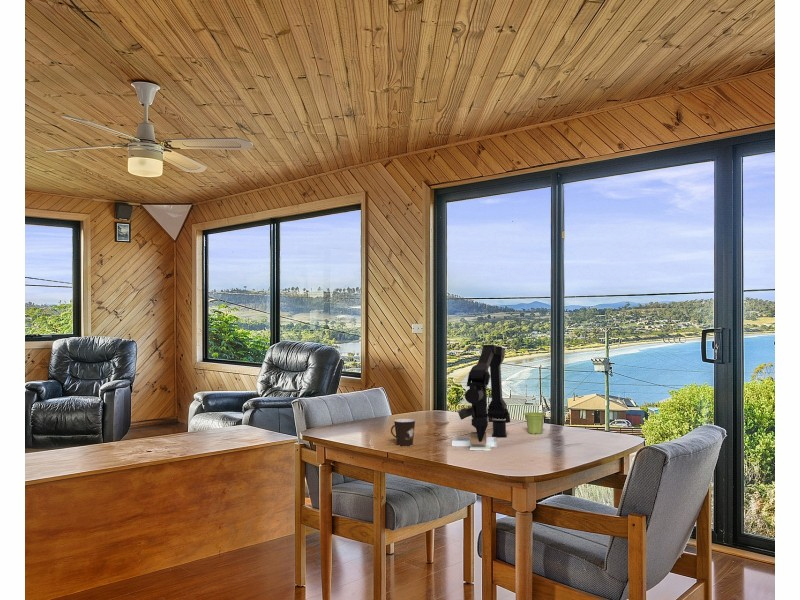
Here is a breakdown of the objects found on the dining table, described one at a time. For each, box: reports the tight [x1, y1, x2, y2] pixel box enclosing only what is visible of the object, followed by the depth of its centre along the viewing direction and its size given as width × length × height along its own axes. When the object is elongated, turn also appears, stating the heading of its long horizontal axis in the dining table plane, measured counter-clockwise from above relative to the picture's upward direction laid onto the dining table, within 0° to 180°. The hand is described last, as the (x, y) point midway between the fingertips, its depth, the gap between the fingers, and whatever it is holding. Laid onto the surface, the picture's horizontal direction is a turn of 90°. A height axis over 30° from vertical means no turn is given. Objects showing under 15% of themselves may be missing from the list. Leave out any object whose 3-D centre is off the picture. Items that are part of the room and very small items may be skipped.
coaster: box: [469, 445, 492, 452], centre depth 243 cm, size 8×8×1 cm
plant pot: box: [523, 411, 546, 435], centre depth 277 cm, size 9×9×9 cm
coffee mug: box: [390, 418, 416, 447], centre depth 252 cm, size 12×9×10 cm
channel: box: [451, 436, 498, 448], centre depth 253 cm, size 10×18×2 cm, turn 82°
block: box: [469, 431, 487, 444], centre depth 244 cm, size 5×6×4 cm
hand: (480, 440), depth 243 cm, fingers closed on block, 5 cm apart
